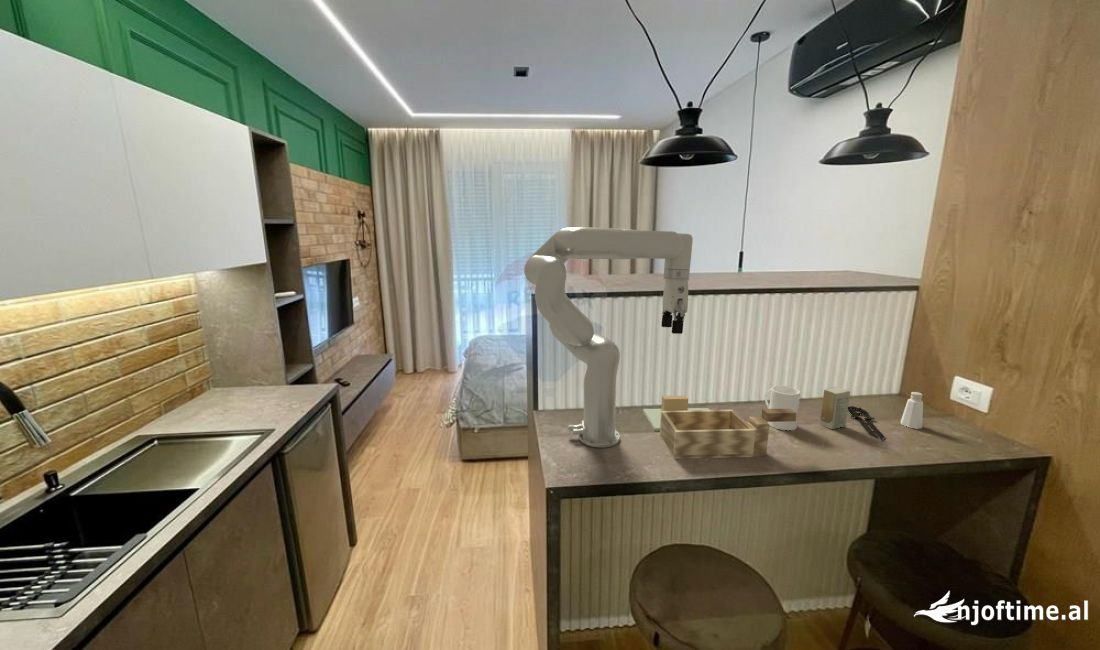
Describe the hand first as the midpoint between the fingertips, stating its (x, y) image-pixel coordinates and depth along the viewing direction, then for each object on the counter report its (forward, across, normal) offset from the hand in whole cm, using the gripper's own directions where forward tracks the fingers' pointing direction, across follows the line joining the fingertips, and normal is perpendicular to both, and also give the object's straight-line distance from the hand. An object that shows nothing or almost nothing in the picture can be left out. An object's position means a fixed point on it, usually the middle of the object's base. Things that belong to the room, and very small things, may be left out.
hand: (671, 330), depth 130 cm
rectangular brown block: (+21, -19, -26) cm, 38 cm away
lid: (+32, +3, -8) cm, 33 cm away
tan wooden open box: (+31, -14, -10) cm, 36 cm away
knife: (+30, -4, -66) cm, 72 cm away
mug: (+30, -1, -38) cm, 48 cm away
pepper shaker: (+28, -6, -79) cm, 84 cm away
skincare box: (+30, -4, -54) cm, 62 cm away
